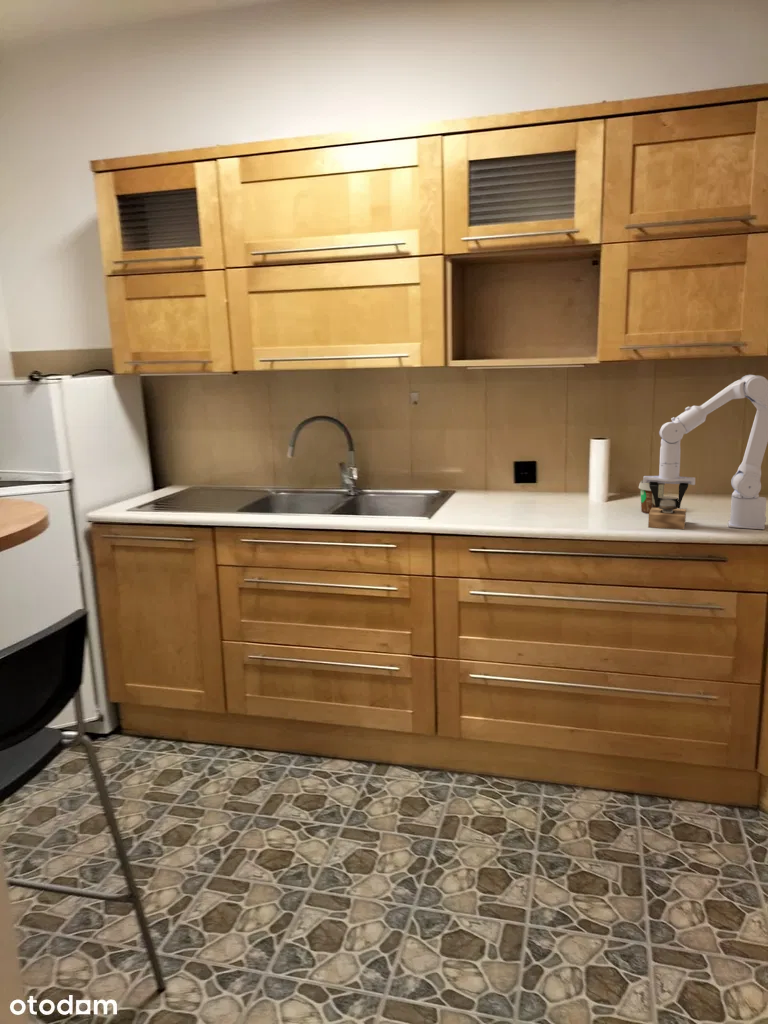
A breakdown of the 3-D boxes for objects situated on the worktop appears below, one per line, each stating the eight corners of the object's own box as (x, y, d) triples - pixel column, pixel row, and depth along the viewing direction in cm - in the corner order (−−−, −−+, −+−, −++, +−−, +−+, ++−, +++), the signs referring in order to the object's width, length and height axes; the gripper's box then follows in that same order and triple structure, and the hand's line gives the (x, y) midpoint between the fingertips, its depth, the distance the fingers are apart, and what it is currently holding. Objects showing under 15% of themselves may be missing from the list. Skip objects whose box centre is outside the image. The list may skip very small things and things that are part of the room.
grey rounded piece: (678, 517, 226) (679, 496, 225) (676, 521, 221) (676, 500, 220) (659, 516, 229) (659, 495, 227) (656, 520, 224) (656, 499, 223)
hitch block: (685, 521, 228) (686, 509, 227) (683, 529, 219) (684, 516, 218) (650, 520, 232) (651, 507, 231) (648, 527, 223) (648, 514, 222)
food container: (645, 506, 251) (646, 477, 249) (663, 508, 248) (665, 478, 245) (631, 513, 242) (632, 483, 240) (650, 515, 238) (651, 484, 236)
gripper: (696, 461, 222) (694, 505, 225) (645, 460, 228) (643, 503, 230) (695, 464, 215) (693, 510, 218) (643, 463, 221) (641, 508, 224)
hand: (667, 507), depth 224 cm, fingers closed on grey rounded piece, 6 cm apart
